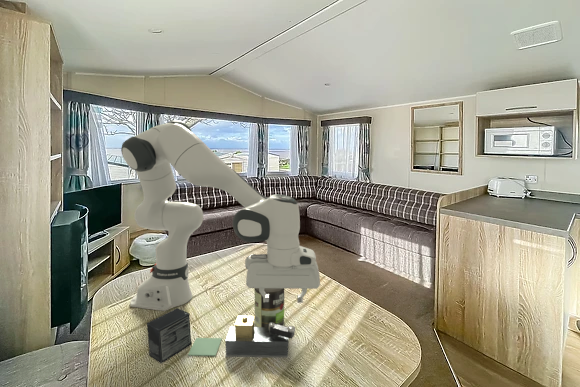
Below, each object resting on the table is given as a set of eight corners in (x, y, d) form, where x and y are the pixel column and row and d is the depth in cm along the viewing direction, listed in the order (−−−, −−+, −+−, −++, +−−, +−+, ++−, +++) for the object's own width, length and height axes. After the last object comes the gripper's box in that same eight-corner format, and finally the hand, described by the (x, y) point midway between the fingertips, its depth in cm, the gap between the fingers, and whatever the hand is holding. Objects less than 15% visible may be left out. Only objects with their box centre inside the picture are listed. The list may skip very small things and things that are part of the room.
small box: (179, 337, 100) (177, 306, 98) (192, 344, 96) (191, 313, 94) (147, 355, 91) (145, 322, 89) (161, 364, 87) (159, 329, 86)
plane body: (225, 356, 91) (225, 341, 90) (230, 341, 98) (230, 326, 97) (288, 358, 90) (288, 342, 90) (288, 342, 98) (288, 327, 97)
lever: (293, 342, 89) (293, 331, 89) (267, 334, 93) (267, 323, 92) (296, 337, 91) (296, 327, 91) (270, 330, 95) (270, 320, 94)
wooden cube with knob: (235, 337, 91) (234, 323, 91) (238, 327, 96) (237, 313, 96) (252, 337, 91) (252, 323, 91) (254, 328, 96) (254, 314, 96)
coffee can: (290, 321, 109) (290, 283, 107) (273, 336, 100) (273, 295, 98) (266, 312, 114) (266, 276, 112) (248, 326, 106) (247, 287, 104)
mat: (187, 355, 91) (187, 354, 91) (196, 338, 99) (196, 337, 99) (215, 356, 91) (215, 355, 91) (221, 339, 99) (221, 338, 99)
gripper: (243, 258, 82) (244, 307, 84) (321, 259, 82) (320, 307, 85) (246, 250, 88) (247, 295, 91) (319, 250, 88) (318, 296, 91)
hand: (283, 301), depth 88 cm, fingers open, 8 cm apart
